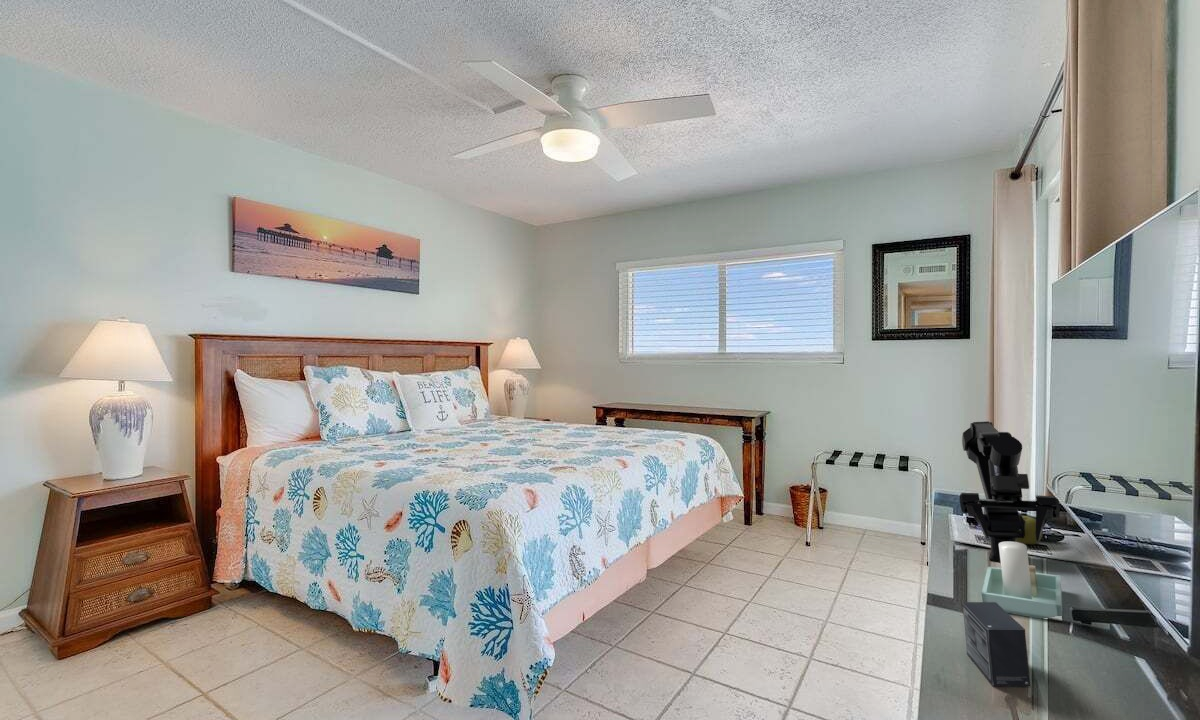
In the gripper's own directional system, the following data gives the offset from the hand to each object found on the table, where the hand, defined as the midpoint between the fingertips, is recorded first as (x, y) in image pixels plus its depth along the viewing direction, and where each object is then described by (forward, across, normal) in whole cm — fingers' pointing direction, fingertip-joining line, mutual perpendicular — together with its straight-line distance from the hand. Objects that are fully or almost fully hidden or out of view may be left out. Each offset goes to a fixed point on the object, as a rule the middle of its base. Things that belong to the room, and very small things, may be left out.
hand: (1011, 539), depth 125 cm
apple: (-16, +4, +35) cm, 39 cm away
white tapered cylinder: (+12, 0, +6) cm, 14 cm away
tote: (+10, +1, +9) cm, 14 cm away
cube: (+7, +1, +12) cm, 13 cm away
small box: (+32, -5, -13) cm, 35 cm away
